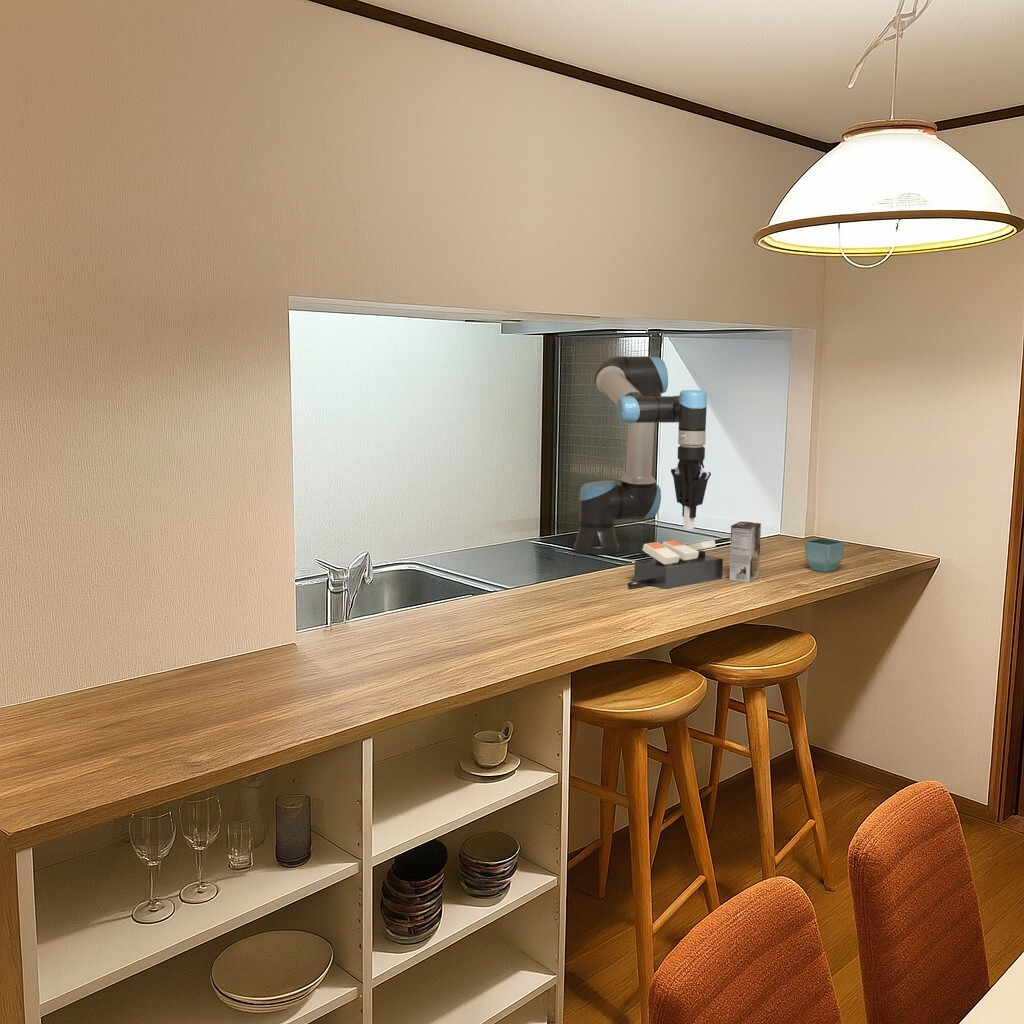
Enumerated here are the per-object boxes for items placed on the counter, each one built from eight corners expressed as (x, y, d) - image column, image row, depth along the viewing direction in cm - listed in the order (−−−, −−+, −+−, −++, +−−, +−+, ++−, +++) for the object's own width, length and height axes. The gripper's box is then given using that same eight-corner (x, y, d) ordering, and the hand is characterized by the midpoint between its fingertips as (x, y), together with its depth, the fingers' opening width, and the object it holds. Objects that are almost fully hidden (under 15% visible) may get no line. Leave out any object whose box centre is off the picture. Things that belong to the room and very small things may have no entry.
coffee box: (738, 574, 289) (740, 521, 287) (759, 577, 286) (761, 522, 284) (728, 580, 281) (730, 524, 279) (750, 582, 278) (752, 526, 276)
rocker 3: (680, 553, 287) (678, 546, 287) (693, 551, 290) (691, 544, 290) (703, 548, 280) (701, 541, 280) (715, 546, 283) (714, 539, 283)
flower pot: (827, 574, 290) (829, 544, 289) (802, 570, 297) (803, 541, 296) (844, 571, 296) (845, 541, 294) (818, 566, 302) (820, 538, 301)
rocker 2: (661, 548, 281) (663, 541, 281) (674, 546, 285) (676, 539, 284) (684, 560, 275) (685, 553, 274) (697, 558, 278) (699, 551, 278)
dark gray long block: (614, 585, 273) (614, 559, 272) (690, 572, 293) (691, 547, 292) (645, 593, 264) (646, 566, 263) (722, 578, 284) (723, 553, 283)
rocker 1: (642, 550, 276) (644, 543, 275) (655, 548, 280) (657, 541, 279) (664, 564, 270) (666, 557, 269) (678, 562, 274) (680, 555, 273)
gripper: (664, 444, 276) (662, 527, 279) (700, 448, 266) (697, 533, 269) (682, 443, 280) (680, 524, 284) (718, 446, 270) (715, 530, 274)
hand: (688, 528), depth 277 cm, fingers closed
